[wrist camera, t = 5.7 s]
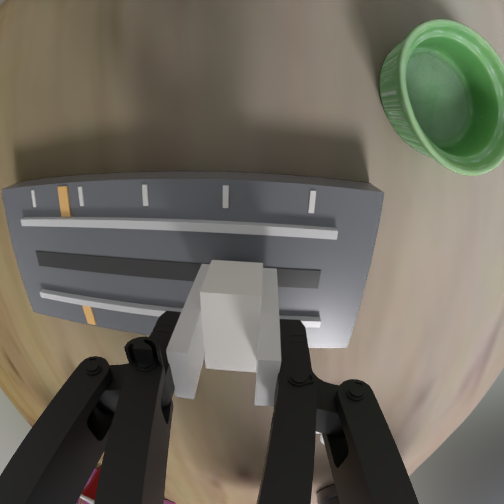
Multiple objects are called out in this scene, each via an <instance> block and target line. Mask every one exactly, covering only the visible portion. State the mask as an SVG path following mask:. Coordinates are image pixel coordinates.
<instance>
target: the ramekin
mask: <svg viewBox="0 0 504 504" xmlns="http://www.w3.org/2000/svg"><path fill="white" fill-rule="evenodd" d="M379 85H380V95H381V100H382V104H383V107H384V111H385V113H386V116H387V118H388V120H389V121H390V123H391V125H392V126H393V128H394V129H395V131H396V132H397V133H398V135H399V136H400V137H401V138H402V139H403V140H404V141H405V142H406V143H408V144H409V145H410V146H411V147H412V148H414V149H415V150H417V151H418V152H421V153H423V154H425V155H427V156H429V157H431V158H433V159H435V160H436V161H437V162H439V163H440V164H441V165H443V166H444V167H446V168H448V169H449V170H451V171H453V172H456V173H459V174H462V175H468V176H476V175H481V174H485V173H487V172H489V171H491V170H493V169H494V168H496V167H497V166H498V165H499V164H500V163H501V162H502V161H503V160H504V64H503V63H502V61H501V59H500V58H499V56H498V55H497V53H496V52H495V50H494V49H493V48H492V47H491V46H490V45H489V43H488V42H487V41H486V40H485V39H484V38H483V37H482V36H480V35H479V34H478V33H477V32H475V31H474V30H472V29H471V28H469V27H467V26H466V25H463V24H461V23H459V22H456V21H453V20H448V19H434V20H429V21H426V22H424V23H422V24H420V25H418V26H417V27H415V28H414V29H413V30H412V31H411V32H410V33H409V34H408V36H407V37H406V38H405V40H403V41H402V42H401V43H399V44H398V45H397V46H396V47H394V48H393V49H392V50H391V51H390V53H389V54H388V55H387V57H386V59H385V61H384V63H383V66H382V69H381V74H380V84H379Z"/></svg>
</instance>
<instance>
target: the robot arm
mask: <svg viewBox="0 0 504 504" xmlns="http://www.w3.org/2000/svg"><path fill="white" fill-rule="evenodd" d="M209 266H210V264H201V267H200V269H199V271H198V274H197V276H196V278H195V281H194V283H193V285H192V288H191V290H190V293H189V295H188V297H187V300H186V302H185V305H184V307H183V309H182V312H176V311H166V312H164V313H163V314H162V315H161V316H159V318H158V320H157V322H156V325H155V326H154V328H153V332H151V335H150V337H138V338H135V339H132V340H131V341H129V342H128V343H127V344H126V346H125V347H124V348H125V352H126V355H127V358H128V361H129V363H128V364H123V365H109V364H108V362H107V361H106V360H105V359H104V358H102V357H97V356H94V357H89V358H87V359H85V360H83V361H82V362H81V363H80V364H79V366H78V367H77V368H76V369H75V371H74V372H73V373H72V375H71V376H70V377H69V378H68V380H67V381H66V382H65V384H64V385H63V386H62V388H61V389H60V390H59V392H58V393H57V394H56V395H55V397H54V398H53V400H52V401H51V402H50V404H49V405H48V406H47V408H46V409H45V410H44V412H43V413H42V415H41V416H40V417H39V419H38V420H37V421H36V423H35V424H34V426H33V427H32V429H31V430H30V431H29V433H28V434H27V436H26V437H25V439H24V440H23V442H22V443H21V445H20V446H19V448H18V449H17V451H16V452H15V454H14V455H13V457H12V458H11V460H10V462H9V463H8V464H7V466H6V468H5V469H4V471H3V473H2V474H1V476H0V504H76V503H77V501H78V499H79V497H80V495H81V493H82V491H83V490H84V488H85V486H86V484H87V482H88V480H89V478H90V476H91V474H92V472H93V471H94V469H95V467H96V465H97V463H98V461H99V459H100V458H101V456H102V454H103V452H104V450H105V453H104V457H103V461H102V466H101V470H100V475H99V480H98V485H97V490H96V496H95V501H94V504H164V491H165V479H166V467H167V457H168V447H169V438H170V429H171V420H172V412H173V401H172V395H173V392H174V391H175V395H176V397H180V398H187V399H194V398H195V394H196V389H197V385H198V381H199V377H200V373H201V369H202V364H203V360H204V356H205V355H204V343H203V331H202V316H201V303H200V290H201V287H202V285H203V282H204V279H205V277H206V274H207V271H208V269H209ZM254 405H258V406H274V413H273V418H272V423H271V430H270V436H269V442H268V447H267V453H266V459H265V464H264V469H263V475H262V480H261V485H260V490H259V495H258V500H257V504H310V502H311V492H312V481H313V468H314V453H315V435H316V432H320V433H322V436H323V440H324V444H325V448H326V451H327V455H328V459H329V463H330V467H331V471H332V475H333V479H334V483H335V484H334V485H331V486H328V487H326V488H324V489H322V490H320V491H319V492H318V493H317V503H318V504H419V503H418V500H417V497H416V495H415V492H414V490H413V487H412V484H411V481H410V479H409V476H408V474H407V471H406V468H405V466H404V463H403V461H402V458H401V456H400V453H399V451H398V449H397V446H396V444H395V441H394V439H393V436H392V434H391V432H390V429H389V427H388V425H387V422H386V420H385V418H384V415H383V413H382V411H381V409H380V406H379V404H378V402H377V399H376V397H375V395H374V393H373V391H372V389H371V388H370V386H369V385H368V384H366V383H365V382H363V381H360V380H354V379H350V380H347V381H344V382H343V383H342V384H341V385H340V386H338V385H334V384H330V383H327V382H324V381H322V380H320V379H319V378H318V377H316V375H315V374H314V373H313V371H312V368H311V361H310V354H309V347H308V341H307V334H306V328H305V326H304V325H303V323H302V322H301V321H300V320H293V319H279V299H278V281H277V269H274V268H263V281H262V303H261V314H260V326H259V338H258V351H257V364H256V383H255V401H254Z"/></svg>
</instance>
